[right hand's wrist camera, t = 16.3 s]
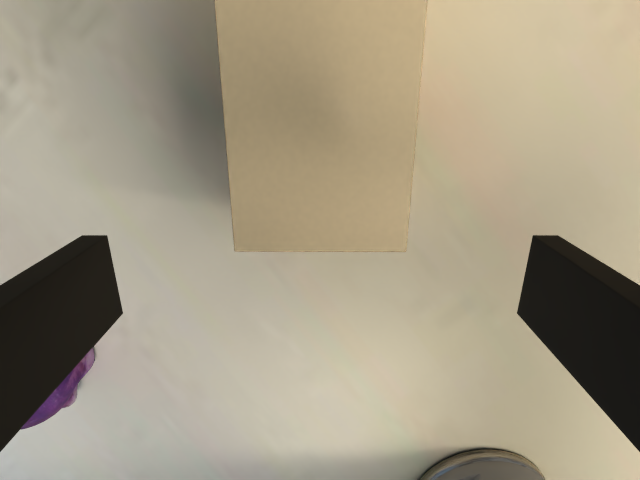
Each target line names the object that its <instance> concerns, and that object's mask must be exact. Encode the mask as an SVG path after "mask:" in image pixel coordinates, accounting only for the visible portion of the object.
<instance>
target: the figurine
mask: <svg viewBox="0 0 640 480" xmlns="http://www.w3.org/2000/svg"><path fill="white" fill-rule="evenodd" d="M93 363H94V350H93V348H92V349H91V350H90V351H89V352H88V353H87V354H86V356H85V357H84V358H83V359H82V360H81V361H80V362H79V363H78V365H77V366H76V367H75V368H74V369H73V370H72V371H71V372H70V374H69V375H68V376H67V377H66V378H65V379H64V380H63V382H62V383H61V384H60V385H59V386H58V387H57V388H56V389H55V391H54V392H53V393H52V394H51V395H50V396H49V397H48V398H47V400H46V401H45V402H44V403H43V404H42V405H41V406H40V407H39V409H38V410H37V411H36V412H35V413H34V414H33V415H32V417H31V418H30V419H29V420H28V421H27V422H26V423H25V424H24V426H23V427H22V428H21V429H25V428H29V427H32V426H35V425H37V424H39V423H41V422H44V421H45V420H47V419H49V418H50V417H52V416H53V415H55V414H56V413H57V412H58V411H59V410H60V409H61V408H65V407H69V406H70V405H72V404H73V403H74V402H75V400H76V398H77V385H78V383H79V381H80V380H81V379H82V378H83V376H84V375H85V374H86V373H87V372H88V371H89V370H90V368H91V367H92V365H93Z"/></svg>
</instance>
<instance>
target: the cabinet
mask: <svg viewBox="0 0 640 480" xmlns="http://www.w3.org/2000/svg"><path fill="white" fill-rule="evenodd" d="M214 3H215V15H216V27H217V40H218V52H219V65H220V77H221V90H222V102H223V114H224V127H225V139H226V152H227V164H228V176H229V189H230V201H231V214H232V226H233V238H234V251H235V252H406V247H407V235H408V224H409V212H410V200H411V188H412V177H413V165H414V153H415V141H416V130H417V118H418V106H419V94H420V83H421V71H422V59H423V47H424V36H425V24H426V12H427V0H214Z"/></svg>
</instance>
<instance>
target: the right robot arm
mask: <svg viewBox="0 0 640 480" xmlns="http://www.w3.org/2000/svg"><path fill="white" fill-rule="evenodd" d="M122 314H123V311H122V306H121V302H120V297H119V292H118V287H117V282H116V277H115V272H114V267H113V262H112V257H111V252H110V247H109V243H108V238H107V236H81V237H79V238H77V239H76V240H74V241H72V242H71V243H69V244H67V245H66V246H64V247H63V248H61V249H59V250H58V251H56V252H54V253H53V254H51V255H49V256H48V257H46V258H44V259H43V260H41V261H40V262H38V263H36V264H35V265H33V266H31V267H30V268H28V269H26V270H25V271H23V272H22V273H20V274H18V275H17V276H15V277H13V278H12V279H10V280H8V281H7V282H5V283H3V284H2V285H0V452H1V450H2V449H3V448H4V447H5V446H6V445H7V444H8V443H9V441H10V440H11V439H12V438H13V437H14V436H15V435H16V433H17V432H18V431H19V430H20V429H21V428H22V427H23V426H24V424H25V423H26V422H27V421H28V420H29V419H30V418H31V417H32V415H33V414H34V413H35V412H36V411H37V410H38V409H39V407H40V406H41V405H42V404H43V403H44V402H45V401H46V400H47V398H48V397H49V396H50V395H51V394H52V393H53V392H54V391H55V389H56V388H57V387H58V386H59V385H60V384H61V383H62V382H63V380H64V379H65V378H66V377H67V376H68V375H69V374H70V372H71V371H72V370H73V369H74V368H75V367H76V366H77V365H78V363H79V362H80V361H81V360H82V359H83V358H84V357H85V356H86V354H87V353H88V352H89V351H90V350H91V349H92V348H93V346H94V345H95V344H96V343H97V342H98V341H99V340H100V339H101V337H102V336H103V335H104V334H105V333H106V332H107V331H108V330H109V328H110V327H111V326H112V325H113V324H114V323H115V322H116V321H117V319H118V318H119V317H120V316H121V315H122ZM517 314H518V315H519V316H520V317H521V318H522V319H523V321H524V322H525V323H526V324H527V325H528V326H529V327H530V328H531V330H532V331H533V332H534V333H535V334H536V335H537V336H538V337H539V339H540V340H541V341H542V342H543V343H544V344H545V345H546V346H547V348H548V349H549V350H550V351H551V352H552V353H553V354H554V356H555V357H556V358H557V359H558V360H559V361H560V362H561V363H562V365H563V366H564V367H565V368H566V369H567V370H568V371H569V372H570V374H571V375H572V376H573V377H574V378H575V379H576V380H577V382H578V383H579V384H580V385H581V386H582V387H583V388H584V389H585V391H586V392H587V393H588V394H589V395H590V396H591V397H592V398H593V400H594V401H595V402H596V403H597V404H598V405H599V406H600V407H601V409H602V410H603V411H604V412H605V413H606V414H607V415H608V417H609V418H610V419H611V420H612V421H613V422H614V423H615V424H616V426H617V427H618V428H619V429H620V430H621V431H622V432H623V433H624V435H625V436H626V437H627V438H628V439H629V440H630V441H631V443H632V444H633V445H634V446H635V447H636V448H637V449H638V450H639V452H640V285H638V284H637V283H635V282H633V281H632V280H630V279H628V278H627V277H625V276H623V275H622V274H620V273H618V272H617V271H615V270H614V269H612V268H610V267H609V266H607V265H605V264H604V263H602V262H600V261H599V260H597V259H596V258H594V257H592V256H591V255H589V254H587V253H586V252H584V251H582V250H581V249H579V248H577V247H576V246H574V245H573V244H571V243H569V242H568V241H566V240H564V239H563V238H561V237H559V236H533V238H532V243H531V247H530V252H529V257H528V262H527V267H526V272H525V277H524V282H523V287H522V292H521V297H520V302H519V306H518V311H517ZM420 480H545V479H544V477H543V475H542V473H541V472H540V471H539V469H538V468H537V467H536V466H535V465H534V464H533V463H532V462H530V461H529V460H527V459H525V458H524V457H522V456H519V455H517V454H514V453H511V452H506V451H501V450H475V451H469V452H465V453H461V454H458V455H455V456H452V457H450V458H447V459H445V460H443V461H441V462H440V463H438V464H436V465H435V466H434V467H432V468H431V469H430V470H429V471H427V472H426V473H425V474H424V475H423V476H422V478H421V479H420Z"/></svg>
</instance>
